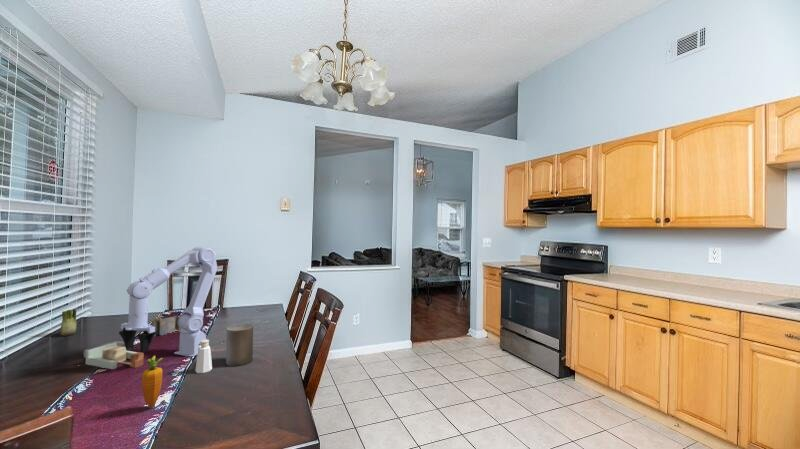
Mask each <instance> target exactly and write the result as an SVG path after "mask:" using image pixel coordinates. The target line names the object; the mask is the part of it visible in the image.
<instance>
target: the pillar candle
mask: <svg viewBox="0 0 800 449" xmlns="http://www.w3.org/2000/svg"><path fill="white" fill-rule="evenodd" d="M225 343H226V344H225V346H226V347H225V348H226V349H225V350H226V351H225V365H227V366H231V367H238V366H243V365H244V366H245V365H247V364H250V363H252V362H253V360H254V358H253V355H254V325H253V324H252V323H241V322H240V323H235V324H232V325H230V326H227V327H226V342H225Z"/></svg>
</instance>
